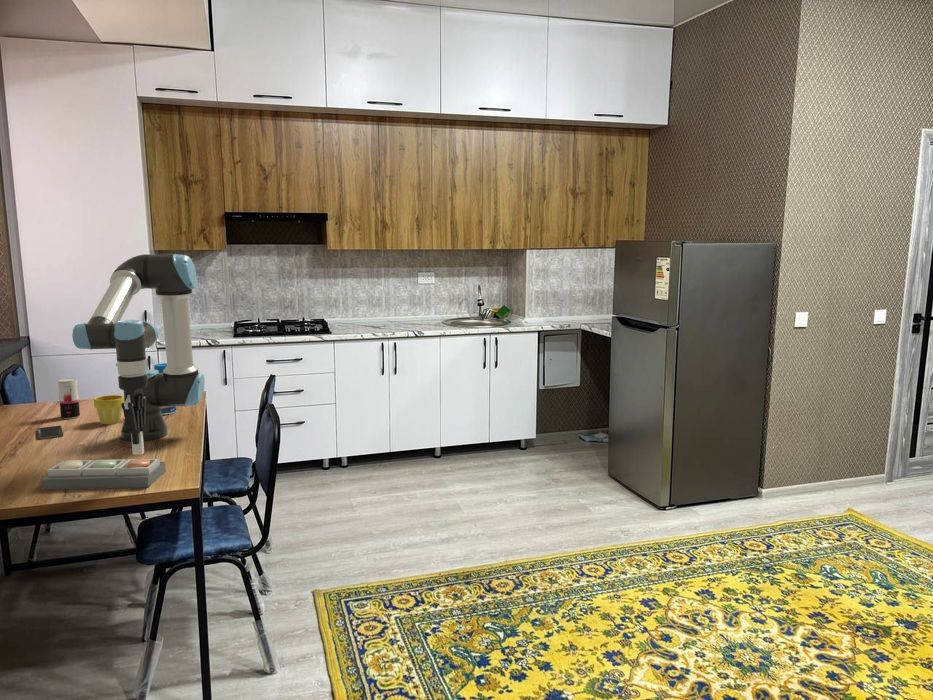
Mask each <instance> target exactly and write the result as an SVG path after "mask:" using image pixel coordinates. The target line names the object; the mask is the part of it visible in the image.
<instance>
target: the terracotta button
mask: <svg viewBox="0 0 933 700" xmlns="http://www.w3.org/2000/svg"><path fill="white" fill-rule="evenodd" d="M136 459H137V460H132V461H129V462H128V463H127V468H141V467H148V466H149V465H150V460H148V459H149V458H136Z"/></svg>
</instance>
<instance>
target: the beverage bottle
mask: <svg viewBox="0 0 933 700" xmlns="http://www.w3.org/2000/svg"><path fill="white" fill-rule="evenodd" d="M166 367H167V362H165V363H164V362H163V363H162V362H161V363H155V364H154V365H153V370H158V371H159V374H163V370H164V369H165V368H166ZM177 410H178V408H177V406H171V407H161V414H162V416H166V415H168V414H169V415H174V414H175V413H177V412H178V411H177Z"/></svg>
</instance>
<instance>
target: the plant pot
mask: <svg viewBox="0 0 933 700" xmlns="http://www.w3.org/2000/svg"><path fill="white" fill-rule="evenodd" d="M122 403H124V395H120V394H108V395H107V394H106V395H100V396H96V397H94V398H93V406H94V408H95V409H96V412H97V415H98V419H99V421H100V424H101V425H115V424H118V423H120V422H121V418H122V417H121V416H122V411H123V409H122V406H121V404H122Z"/></svg>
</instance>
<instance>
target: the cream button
mask: <svg viewBox="0 0 933 700" xmlns="http://www.w3.org/2000/svg"><path fill="white" fill-rule="evenodd" d="M80 460H81V459H79V460H78V459H74V460H73V459H72V461H66V460H65V461H66V462H62V463H60V464H59V469H78V468H80V467H81V466H83V462H82V461H80Z"/></svg>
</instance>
